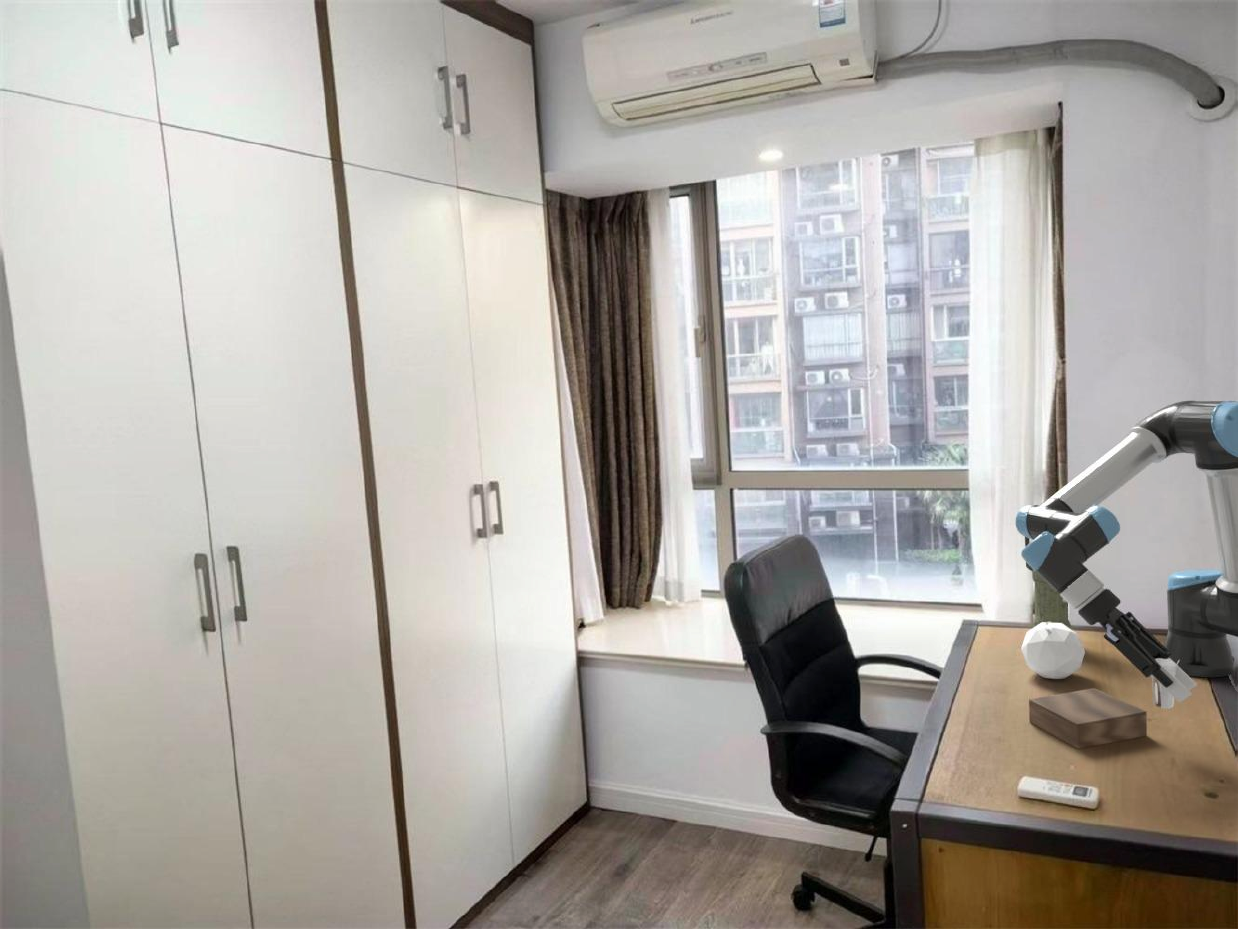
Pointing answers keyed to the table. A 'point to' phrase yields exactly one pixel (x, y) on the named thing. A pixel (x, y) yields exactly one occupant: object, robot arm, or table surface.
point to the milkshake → (1159, 692)
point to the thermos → (1047, 601)
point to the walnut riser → (1087, 718)
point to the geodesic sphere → (1053, 650)
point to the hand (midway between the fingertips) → (1188, 693)
